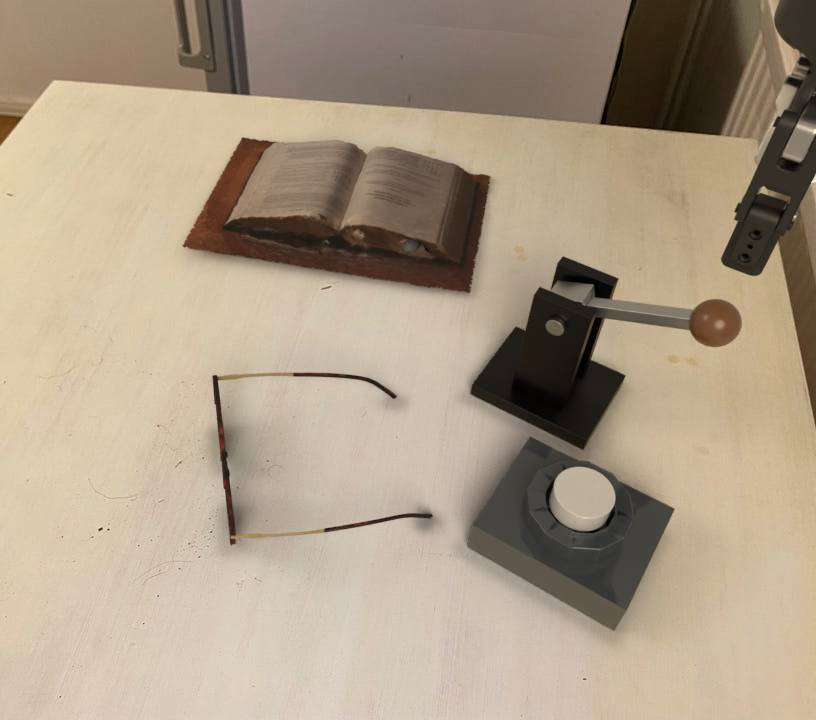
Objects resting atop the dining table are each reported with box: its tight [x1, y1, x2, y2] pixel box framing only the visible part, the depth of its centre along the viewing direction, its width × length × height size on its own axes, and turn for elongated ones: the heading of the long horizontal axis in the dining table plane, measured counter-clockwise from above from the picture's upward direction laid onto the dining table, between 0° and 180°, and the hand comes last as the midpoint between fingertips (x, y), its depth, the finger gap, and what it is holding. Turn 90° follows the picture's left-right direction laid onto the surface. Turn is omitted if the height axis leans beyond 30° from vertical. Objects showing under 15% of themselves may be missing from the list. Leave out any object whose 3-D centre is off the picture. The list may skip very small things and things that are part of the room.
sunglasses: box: [211, 372, 434, 547], centre depth 61 cm, size 14×15×5 cm
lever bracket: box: [470, 255, 627, 451], centre depth 63 cm, size 10×8×12 cm
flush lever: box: [550, 281, 743, 348], centre depth 57 cm, size 13×3×3 cm, turn 55°
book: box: [181, 136, 492, 294], centre depth 82 cm, size 20×28×4 cm
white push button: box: [549, 467, 616, 531], centre depth 54 cm, size 4×4×2 cm
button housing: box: [467, 436, 675, 632], centre depth 56 cm, size 11×9×5 cm
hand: (761, 226), depth 48 cm, fingers open, 8 cm apart
